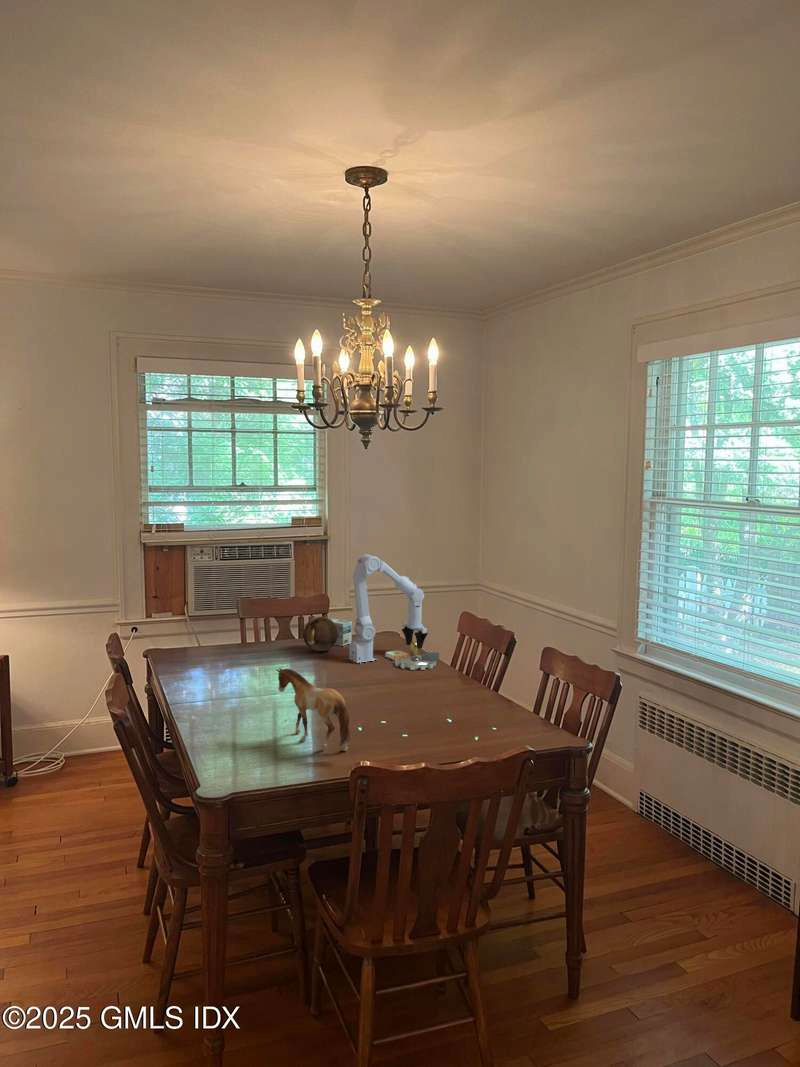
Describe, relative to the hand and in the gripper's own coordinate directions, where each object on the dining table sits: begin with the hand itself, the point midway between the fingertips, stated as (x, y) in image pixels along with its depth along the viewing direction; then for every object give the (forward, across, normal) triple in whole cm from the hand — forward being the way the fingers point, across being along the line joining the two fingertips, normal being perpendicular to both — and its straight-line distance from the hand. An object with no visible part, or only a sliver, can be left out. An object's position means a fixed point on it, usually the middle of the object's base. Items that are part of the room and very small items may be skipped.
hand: (414, 646), depth 324 cm
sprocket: (+4, -12, +8) cm, 15 cm away
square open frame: (+4, +1, +8) cm, 9 cm away
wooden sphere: (+4, +28, +30) cm, 41 cm away
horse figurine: (+4, -69, +87) cm, 111 cm away
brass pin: (+4, 0, 0) cm, 4 cm away
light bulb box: (+4, +35, +17) cm, 39 cm away
